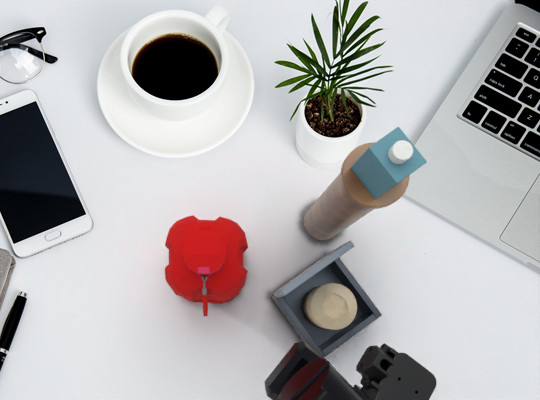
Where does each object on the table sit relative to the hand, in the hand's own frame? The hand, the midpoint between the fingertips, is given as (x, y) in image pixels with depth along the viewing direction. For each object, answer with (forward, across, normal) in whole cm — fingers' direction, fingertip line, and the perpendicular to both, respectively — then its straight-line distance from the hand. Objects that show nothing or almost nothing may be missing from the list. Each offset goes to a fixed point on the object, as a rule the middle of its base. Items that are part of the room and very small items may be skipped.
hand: (337, 392), depth 69 cm
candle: (+14, +3, -6) cm, 15 cm away
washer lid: (+4, +9, -9) cm, 14 cm away
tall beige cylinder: (+17, +10, -15) cm, 25 cm away
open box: (+14, +4, -6) cm, 16 cm away
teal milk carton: (-12, +14, -20) cm, 28 cm away
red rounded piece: (+16, +18, 0) cm, 24 cm away
